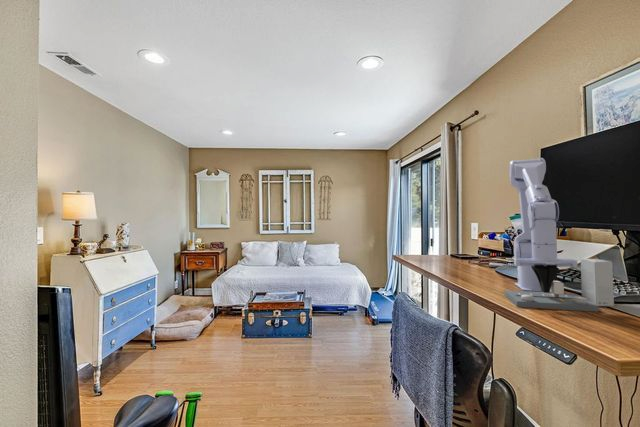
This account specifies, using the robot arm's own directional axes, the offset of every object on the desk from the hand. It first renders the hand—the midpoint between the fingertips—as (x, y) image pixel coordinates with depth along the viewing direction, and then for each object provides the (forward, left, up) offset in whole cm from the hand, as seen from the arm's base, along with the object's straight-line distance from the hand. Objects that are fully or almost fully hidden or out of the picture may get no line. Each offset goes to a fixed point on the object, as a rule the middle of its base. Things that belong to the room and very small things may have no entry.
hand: (545, 291), depth 84 cm
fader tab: (0, +3, -1) cm, 3 cm away
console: (0, 0, -3) cm, 3 cm away
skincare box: (-2, +13, -3) cm, 13 cm away
